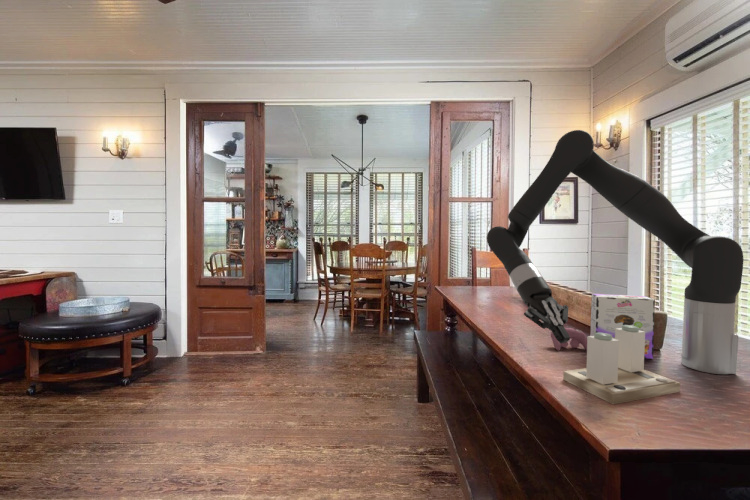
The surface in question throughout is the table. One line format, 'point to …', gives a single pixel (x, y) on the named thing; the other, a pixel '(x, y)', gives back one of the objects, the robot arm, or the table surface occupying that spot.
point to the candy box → (623, 316)
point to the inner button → (630, 348)
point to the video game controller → (576, 338)
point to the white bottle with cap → (602, 358)
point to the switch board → (624, 385)
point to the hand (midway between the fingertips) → (565, 341)
